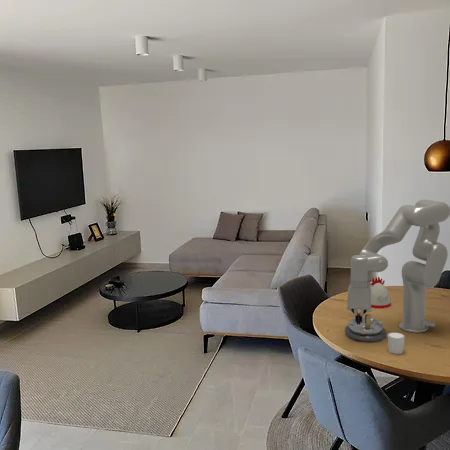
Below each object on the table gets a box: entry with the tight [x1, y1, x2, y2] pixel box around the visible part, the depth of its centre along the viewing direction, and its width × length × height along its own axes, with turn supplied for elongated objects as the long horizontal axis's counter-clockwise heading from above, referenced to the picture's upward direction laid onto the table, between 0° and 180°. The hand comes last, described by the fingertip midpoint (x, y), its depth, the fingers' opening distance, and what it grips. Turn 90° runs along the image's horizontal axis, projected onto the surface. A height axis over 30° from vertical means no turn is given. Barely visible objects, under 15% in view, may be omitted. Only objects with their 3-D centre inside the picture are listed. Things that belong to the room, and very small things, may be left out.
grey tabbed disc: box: [347, 313, 384, 336], centre depth 219 cm, size 15×15×9 cm
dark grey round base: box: [344, 324, 387, 344], centre depth 220 cm, size 18×18×2 cm
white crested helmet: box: [369, 276, 392, 309], centre depth 258 cm, size 14×14×15 cm
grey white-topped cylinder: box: [386, 332, 406, 355], centre depth 202 cm, size 7×7×7 cm
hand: (358, 323), depth 214 cm, fingers closed
